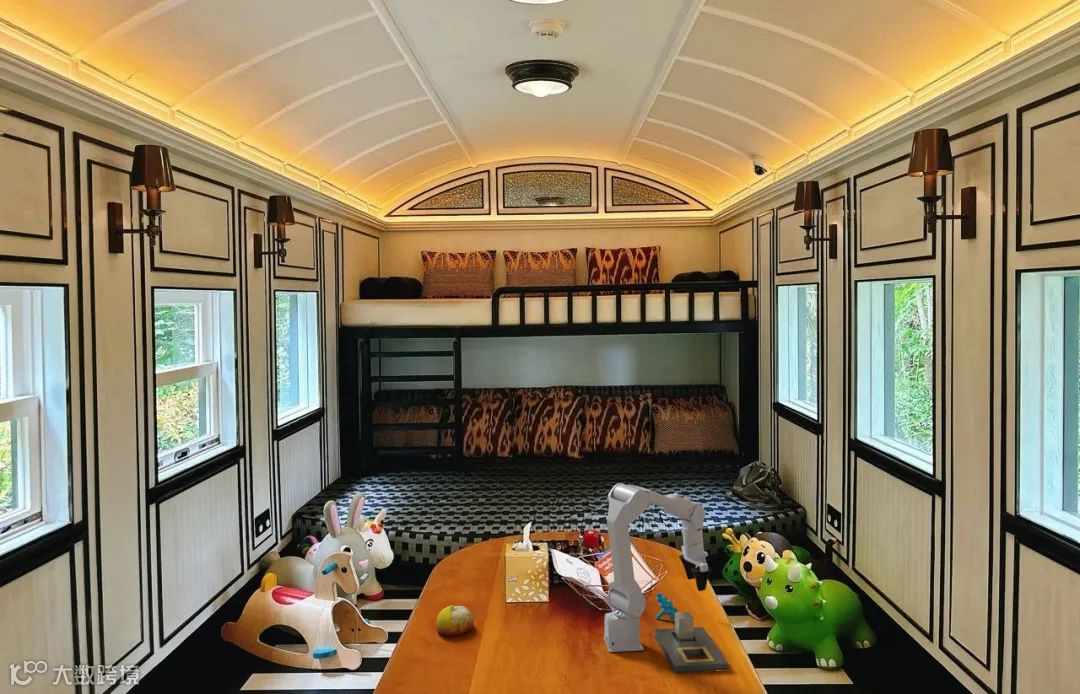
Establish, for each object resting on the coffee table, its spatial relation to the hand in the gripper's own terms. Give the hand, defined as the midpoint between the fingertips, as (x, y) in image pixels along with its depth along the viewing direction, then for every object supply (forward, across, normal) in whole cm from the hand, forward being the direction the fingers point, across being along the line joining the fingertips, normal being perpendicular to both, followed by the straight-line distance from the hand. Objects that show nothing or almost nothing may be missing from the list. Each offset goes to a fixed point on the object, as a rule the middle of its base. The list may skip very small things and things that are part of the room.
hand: (696, 584), depth 207 cm
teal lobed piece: (+10, +1, +9) cm, 14 cm away
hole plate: (+9, -19, +11) cm, 23 cm away
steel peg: (+9, -14, +10) cm, 20 cm away
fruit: (+3, +7, +72) cm, 72 cm away
